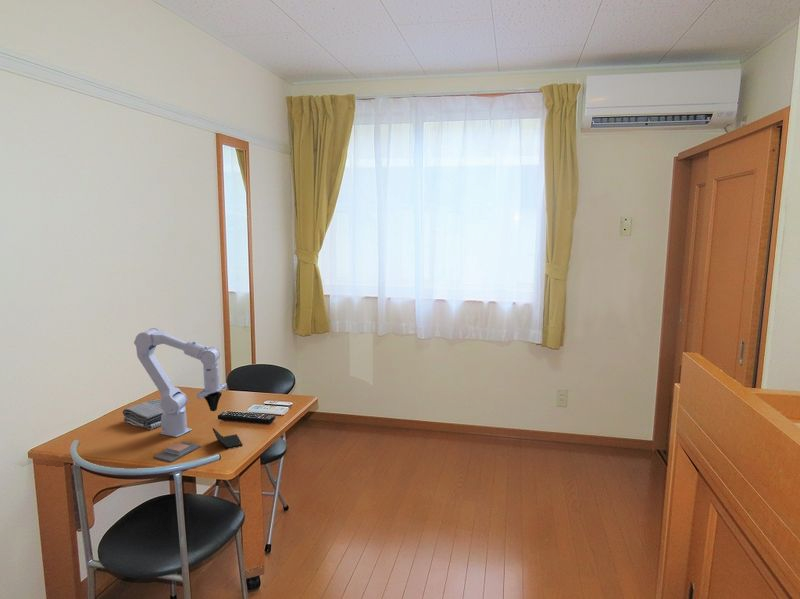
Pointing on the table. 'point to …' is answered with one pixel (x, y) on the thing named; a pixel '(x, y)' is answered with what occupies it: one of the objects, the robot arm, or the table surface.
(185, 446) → the card deck
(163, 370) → the robot arm
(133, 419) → the towel
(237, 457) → the table surface
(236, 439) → the handheld gaming console
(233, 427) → the table surface
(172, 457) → the grey rectangular slab
